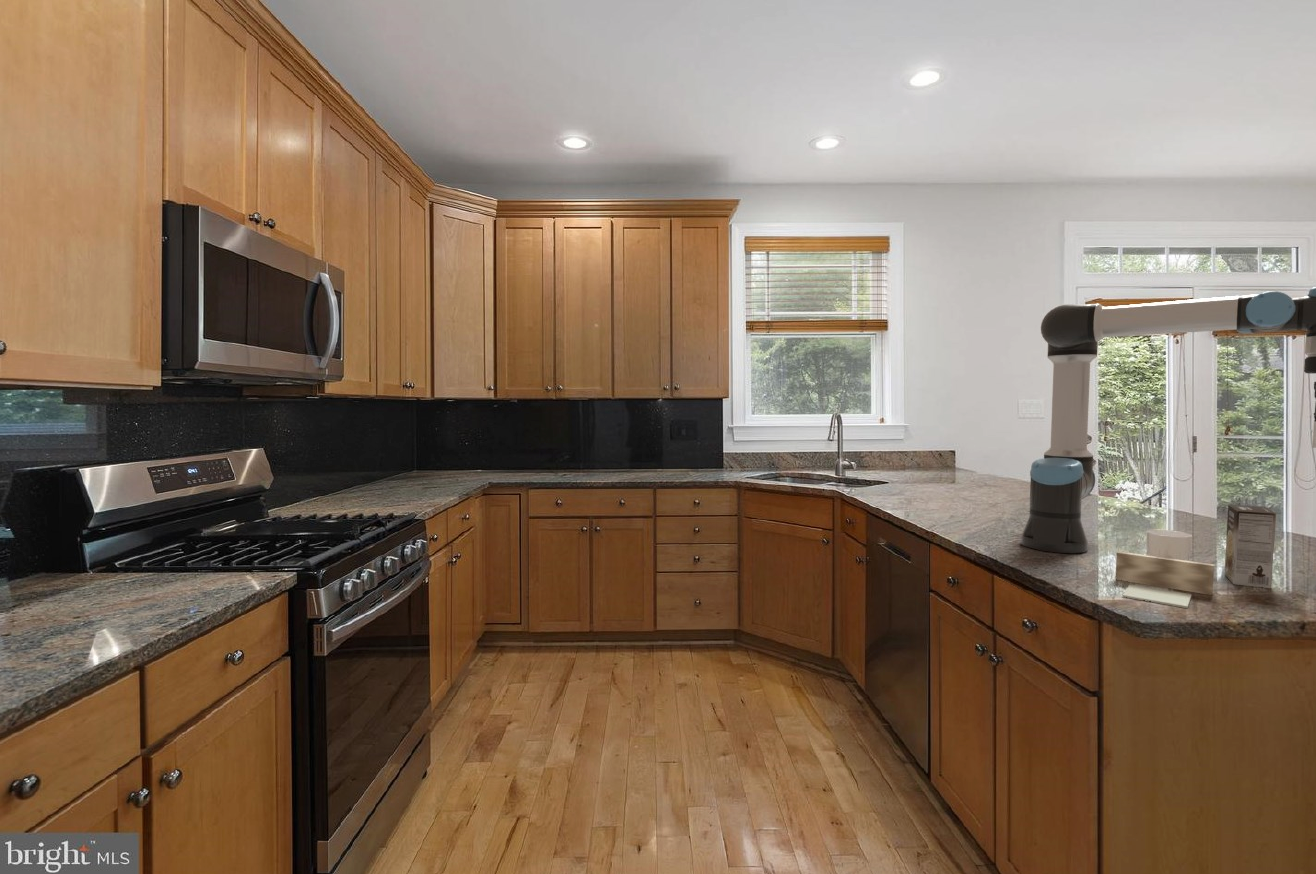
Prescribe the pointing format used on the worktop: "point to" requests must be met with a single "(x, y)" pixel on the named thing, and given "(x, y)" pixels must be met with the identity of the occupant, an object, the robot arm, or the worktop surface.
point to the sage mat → (1158, 595)
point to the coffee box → (1250, 545)
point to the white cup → (1168, 544)
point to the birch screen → (1165, 572)
